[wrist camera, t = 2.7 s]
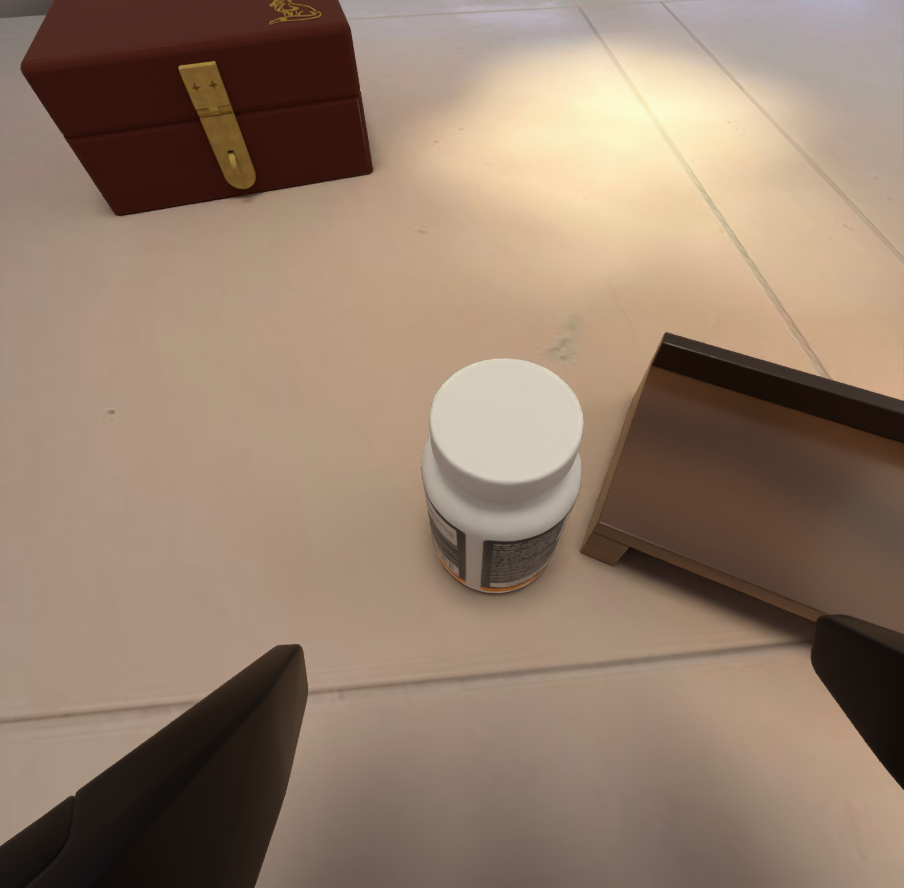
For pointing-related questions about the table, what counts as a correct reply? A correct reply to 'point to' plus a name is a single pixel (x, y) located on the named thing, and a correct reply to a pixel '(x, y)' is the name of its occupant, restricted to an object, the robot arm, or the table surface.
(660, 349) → the shelf
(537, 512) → the pill bottle
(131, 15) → the box
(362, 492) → the table surface
